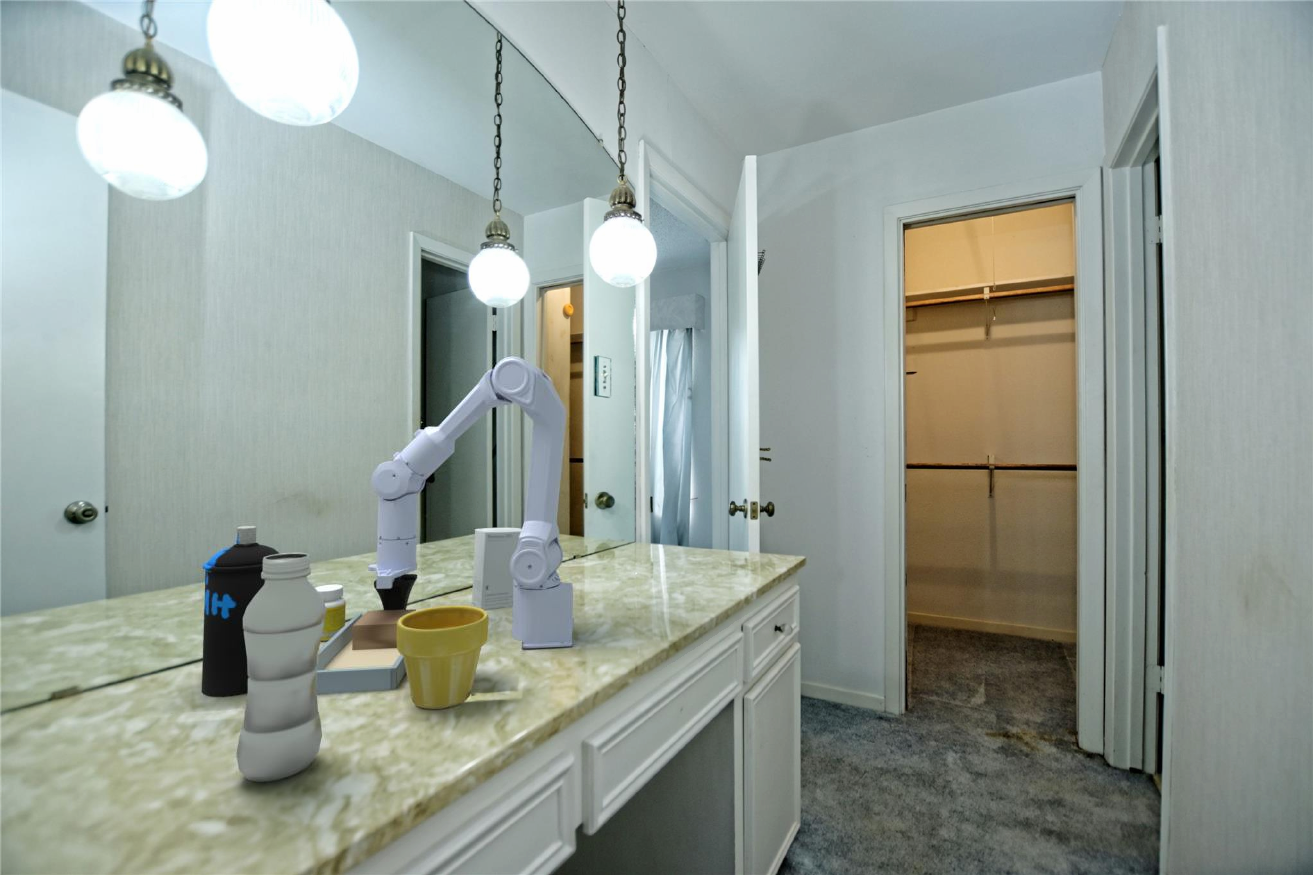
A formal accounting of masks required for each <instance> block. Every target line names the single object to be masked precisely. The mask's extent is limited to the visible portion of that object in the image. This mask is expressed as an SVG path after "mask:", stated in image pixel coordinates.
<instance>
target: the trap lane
mask: <svg viewBox="0 0 1313 875" xmlns="http://www.w3.org/2000/svg"><path fill="white" fill-rule="evenodd" d="M362 616H363V613H362V612H358V613H356V614H355V615H354V616H353V617H352V618H351V619H350V620H349V621H348V622H347V623H345V626H344V627H343V628H342V629H341V630H339V631H338V632H337V633H336V634H335V635H334V636H333V637H332V638H331V639H330V640H329V641H328V642H325V644H324V645H322V646H320V647H319V656H318V664H317V677H316V684H317V695H325V694H342V693H357V692H360V693H361V692H373V691H376V692H377V691H391V690H397V688H398V686H399V684H400V682H401V681H402V680H403V678H404V675H405V674H407V672H406V668H405V663H404V658H403V655H402V654H400V653H399V652H398V650H397V648H389V649H368V650H352V639H353V625H354V624H355V623H356V622H357V621H358V620H359V619H360V618H361V617H362Z"/></svg>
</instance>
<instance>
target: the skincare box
mask: <svg viewBox="0 0 1313 875" xmlns="http://www.w3.org/2000/svg"><path fill="white" fill-rule="evenodd" d="M521 530H522V528H519V527H487V528H486V527H483V528H476V529H474V548H473V549H474V550H473V570H472V571H473V573H472V576H473V577H472V594H471V595H472V596H471V604H472V605H473V606H474V607H476V608H480V609H483V610H485V611H488V610H493V609H494V610H495V609H500V608H507V607H513V586H514V579H513V577H512V575H511V572H510V561H511V558H512V556H513V554H514V553H515V551H516V549H517V546H518V539H519V535H520V532H521Z"/></svg>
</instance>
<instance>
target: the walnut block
mask: <svg viewBox="0 0 1313 875" xmlns="http://www.w3.org/2000/svg"><path fill="white" fill-rule="evenodd" d="M414 611H417V609H416V608H413V609H406V610H384V609H383V610H367V611H366V612H365V613H364V614H362V617H361V618H360V619H359V620H358V621H357V622H356V623H355V624H354V625H353V639H352V650H368V649H389V648H397V622H398V620H399V619H400V618H401V617H402V616H404V615H406V614H408V613H411V612H414Z"/></svg>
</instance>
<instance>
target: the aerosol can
mask: <svg viewBox="0 0 1313 875" xmlns="http://www.w3.org/2000/svg"><path fill="white" fill-rule="evenodd" d="M236 532H237V534H236V536H237V537H236V539H235V541H236V543H234V544H232V546H229V547H227V548H224V549H222V550H220V551H218V552H217V551H216V553H215V554H214V555H213V556H211V557H210V558H209V560H208V561H206V562H204V563H203V565H202V569H203V570H205V571H204V572H205V573H204V574H205V575H204V576H205V577H204V603H203V605H204V607H203V631H202V632H203V635H202V636H203V639H202V641H203V642H202V666H201V667H202V668H201V670H202V672H201V693H202V694H203V695H204V696H206V697H210V698H211V697H212V698H227V697H235V696H242V695H248V678H249V676H248V666H247V653H246V645H245V638H244V629H243V616H244V614H245V611H246V608H247V606H248V605H249V603H250V602H251V600H252V599H253V598H254V596H255V595H256V594H257V593H258V591H259V590H260V589H261V588H262V587H263V586H264V584H265V579H262V578H261V573H262V572H263V558H264V557H266V556H269V555H275V554H281V553H280V552H279V551H277V549H275V548H274V547H271V546H268V545H264V544H259V542H257V526H255V525H245V526H244V525H243V526H238V527H237V528H236Z"/></svg>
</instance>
